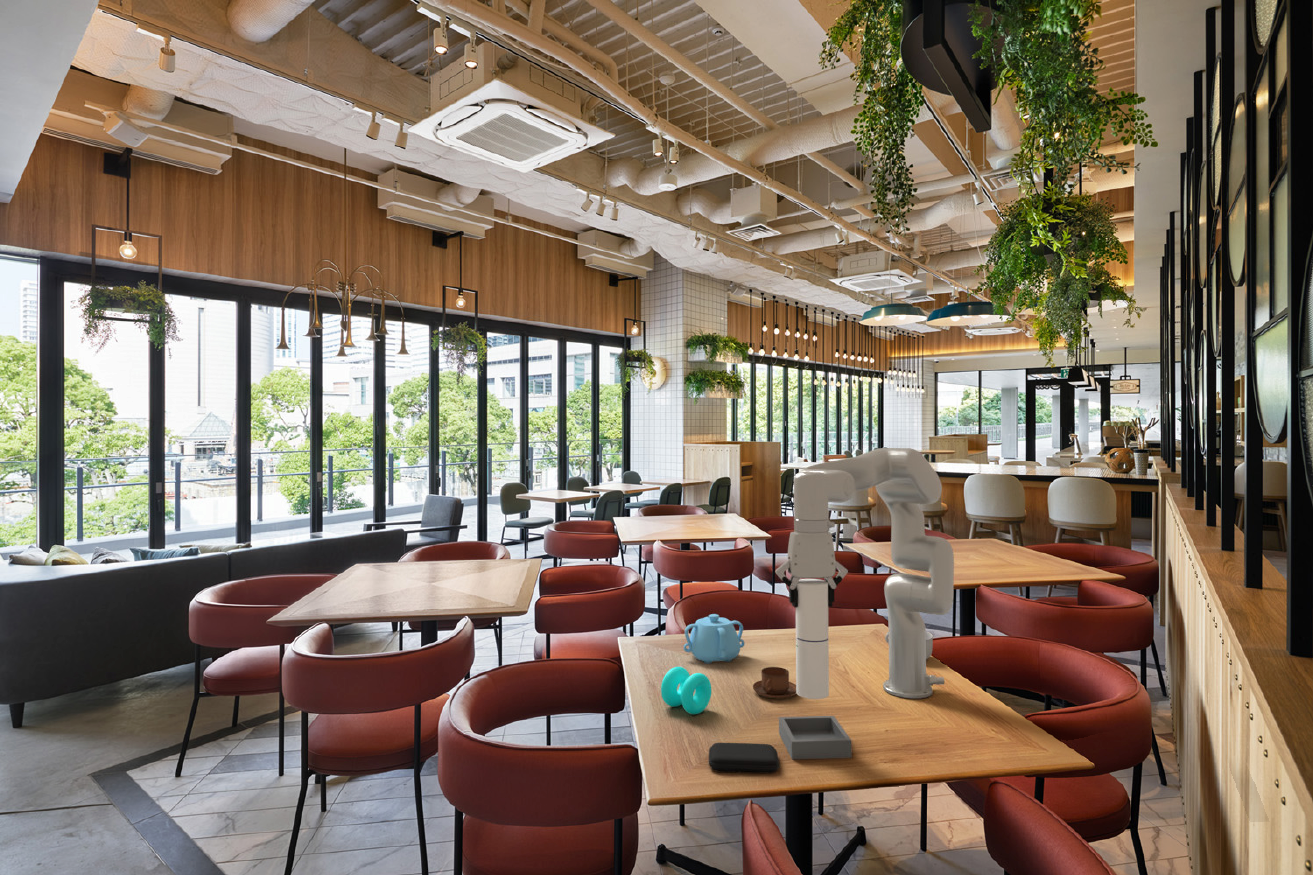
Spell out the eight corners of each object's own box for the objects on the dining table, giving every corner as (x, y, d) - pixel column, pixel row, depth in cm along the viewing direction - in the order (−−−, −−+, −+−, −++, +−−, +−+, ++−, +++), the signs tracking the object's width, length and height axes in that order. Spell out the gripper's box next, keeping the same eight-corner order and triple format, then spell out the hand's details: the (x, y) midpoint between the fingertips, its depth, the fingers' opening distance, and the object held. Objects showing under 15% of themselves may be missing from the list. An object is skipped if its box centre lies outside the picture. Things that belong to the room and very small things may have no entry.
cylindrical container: (810, 701, 150) (809, 586, 150) (789, 690, 156) (788, 580, 156) (835, 695, 153) (834, 583, 153) (814, 685, 159) (813, 577, 159)
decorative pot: (721, 670, 205) (721, 625, 205) (678, 659, 215) (678, 616, 215) (749, 656, 218) (749, 613, 218) (707, 647, 228) (707, 605, 228)
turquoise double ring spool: (685, 698, 183) (685, 661, 183) (714, 709, 176) (713, 670, 176) (658, 709, 176) (658, 670, 176) (687, 720, 169) (687, 680, 169)
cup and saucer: (797, 704, 179) (797, 680, 179) (751, 700, 181) (751, 677, 181) (797, 687, 191) (797, 665, 191) (754, 684, 193) (754, 662, 193)
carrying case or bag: (776, 753, 152) (709, 750, 153) (775, 739, 152) (709, 737, 153) (780, 776, 141) (708, 774, 143) (780, 762, 141) (708, 759, 143)
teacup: (936, 656, 215) (936, 631, 215) (929, 666, 206) (929, 640, 206) (890, 649, 223) (890, 624, 223) (882, 659, 214) (881, 633, 214)
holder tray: (833, 731, 162) (833, 715, 162) (851, 757, 149) (851, 740, 149) (779, 733, 161) (778, 717, 161) (791, 759, 148) (791, 741, 148)
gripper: (844, 524, 159) (844, 601, 159) (769, 525, 158) (769, 602, 158) (854, 528, 151) (855, 609, 151) (776, 529, 151) (776, 610, 151)
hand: (811, 605), depth 155 cm, fingers closed on cylindrical container, 7 cm apart
